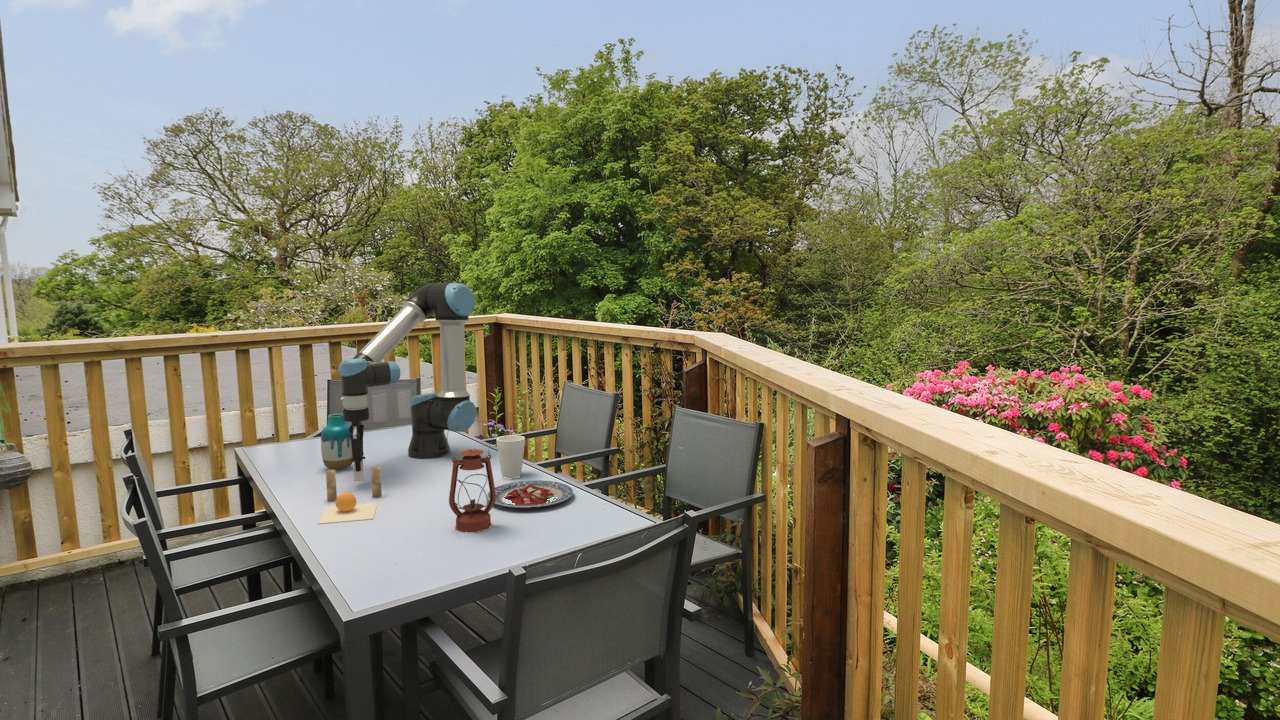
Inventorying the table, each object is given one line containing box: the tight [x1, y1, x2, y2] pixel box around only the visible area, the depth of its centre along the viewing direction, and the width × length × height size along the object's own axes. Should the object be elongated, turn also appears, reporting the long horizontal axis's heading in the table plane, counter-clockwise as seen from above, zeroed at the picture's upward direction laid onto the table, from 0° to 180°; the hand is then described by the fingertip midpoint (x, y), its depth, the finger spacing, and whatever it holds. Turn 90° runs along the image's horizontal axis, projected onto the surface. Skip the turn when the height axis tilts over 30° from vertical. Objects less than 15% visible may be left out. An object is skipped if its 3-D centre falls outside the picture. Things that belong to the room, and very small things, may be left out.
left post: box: [325, 469, 338, 502], centre depth 203 cm, size 3×3×9 cm
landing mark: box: [317, 502, 378, 525], centre depth 192 cm, size 14×14×1 cm
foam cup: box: [495, 434, 526, 479], centre depth 229 cm, size 10×9×13 cm
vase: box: [320, 413, 354, 471], centre depth 237 cm, size 11×11×19 cm
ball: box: [335, 491, 357, 512], centre depth 194 cm, size 6×6×6 cm
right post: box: [370, 466, 382, 499], centre depth 207 cm, size 3×3×9 cm
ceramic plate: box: [486, 479, 574, 509], centre depth 206 cm, size 26×26×3 cm
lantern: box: [446, 417, 496, 534], centre depth 181 cm, size 10×10×30 cm
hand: (359, 480), depth 218 cm, fingers closed
